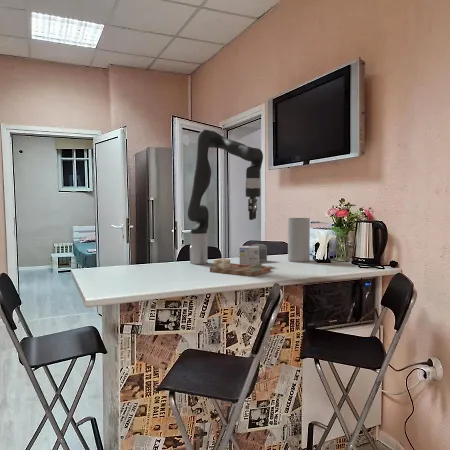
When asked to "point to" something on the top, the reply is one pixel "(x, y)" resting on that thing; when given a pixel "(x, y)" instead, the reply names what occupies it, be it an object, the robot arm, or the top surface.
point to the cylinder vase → (299, 239)
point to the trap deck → (242, 269)
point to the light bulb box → (249, 255)
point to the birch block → (222, 263)
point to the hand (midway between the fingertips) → (252, 219)
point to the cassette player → (262, 252)
